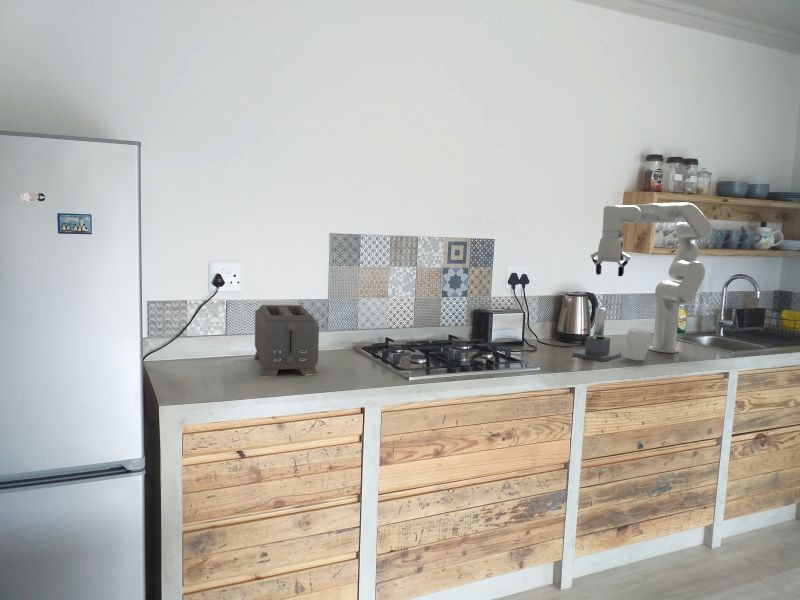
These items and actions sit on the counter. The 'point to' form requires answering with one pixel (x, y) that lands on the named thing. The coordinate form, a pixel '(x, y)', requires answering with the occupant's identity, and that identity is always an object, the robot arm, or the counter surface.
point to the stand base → (597, 350)
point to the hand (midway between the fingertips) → (609, 275)
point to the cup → (637, 343)
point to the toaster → (286, 339)
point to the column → (599, 323)
